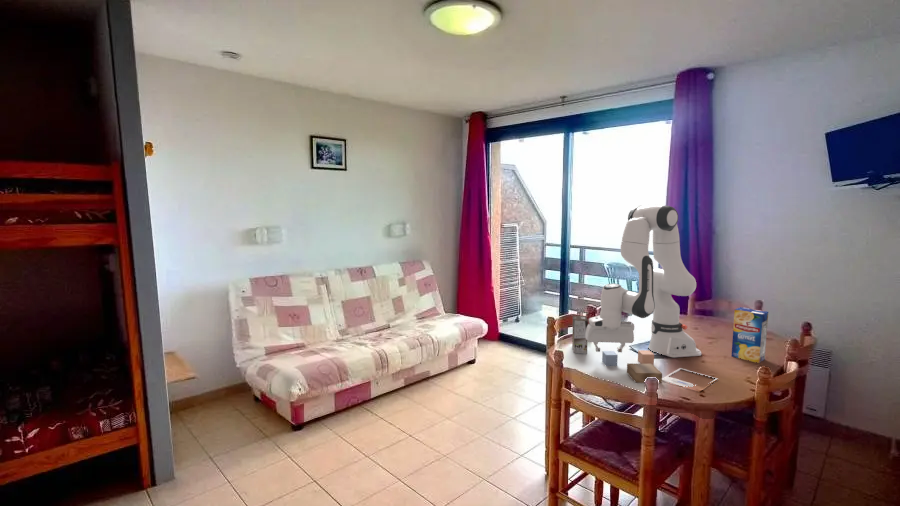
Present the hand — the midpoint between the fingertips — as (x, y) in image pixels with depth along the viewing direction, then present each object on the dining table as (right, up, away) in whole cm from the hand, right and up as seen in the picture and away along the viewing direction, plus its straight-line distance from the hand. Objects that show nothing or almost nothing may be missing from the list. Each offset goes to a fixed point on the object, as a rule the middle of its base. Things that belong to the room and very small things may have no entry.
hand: (608, 351), depth 189 cm
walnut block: (+9, -7, -14) cm, 18 cm away
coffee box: (-7, -4, +18) cm, 20 cm away
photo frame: (+26, -8, -17) cm, 32 cm away
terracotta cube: (+17, -5, +1) cm, 18 cm away
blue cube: (+1, -6, +1) cm, 6 cm away
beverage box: (+65, -4, +6) cm, 65 cm away
